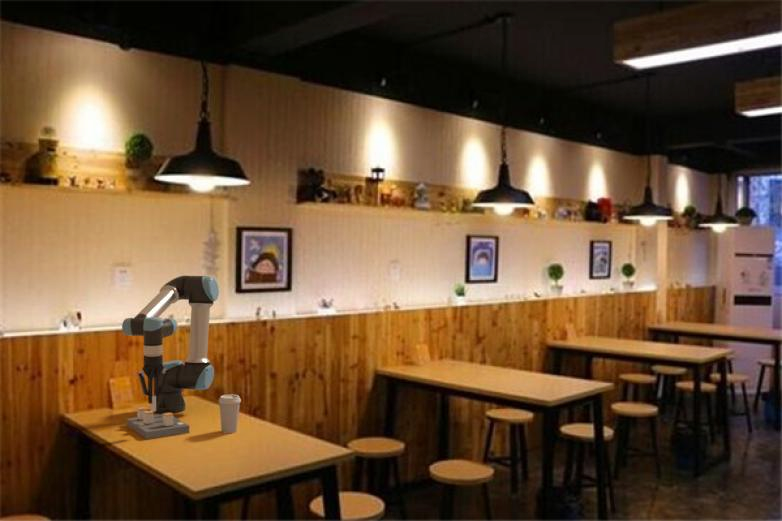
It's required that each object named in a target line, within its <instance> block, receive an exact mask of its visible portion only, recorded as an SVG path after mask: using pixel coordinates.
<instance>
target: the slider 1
mask: <svg viewBox="0 0 782 521" xmlns="http://www.w3.org/2000/svg"><path fill="white" fill-rule="evenodd" d="M143 411H148V408H147V407H146V406H140V407H137V408H136V417H137V418H138V419H139V420H143Z"/></svg>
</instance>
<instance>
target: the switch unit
mask: <svg viewBox="0 0 782 521" xmlns="http://www.w3.org/2000/svg"><path fill="white" fill-rule="evenodd" d="M126 427H128V428H130V429H131V430H132V431H134V432H136V433H137V434H138V435H139V436H141V437H142V438H144V439H146V440H152V439H158V438H163V437H164V438H165V437H166V438H167V437H171V436H177V435H183V434H184V435H185V434H189V433H190V425H189V424H187V423H185V422H184V421H182V420H180V419H179V418H177V417H175V416H174V415H173V425H171V426H165V425H163V413H157V414H154V423H149V424H145V423H144V422H143V420H139V419H138V418H137V416H136V417H128V418H126Z"/></svg>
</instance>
